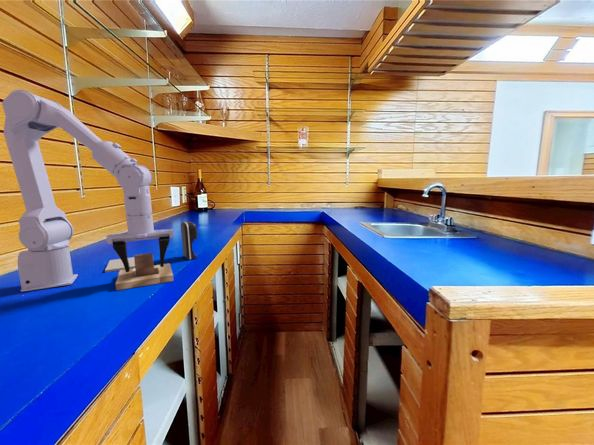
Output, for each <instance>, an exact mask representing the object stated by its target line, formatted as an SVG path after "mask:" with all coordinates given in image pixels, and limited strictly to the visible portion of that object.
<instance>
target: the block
mask: <svg viewBox="0 0 594 445" xmlns="http://www.w3.org/2000/svg"><path fill="white" fill-rule="evenodd" d="M153 255H154V254H153V252H148V253H139V254H134V256H133V257H134V260H135V269H136V277H141V276H148V275H154V274H155V273H154V264H153V262H154V256H153Z"/></svg>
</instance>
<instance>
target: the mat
mask: <svg viewBox="0 0 594 445" xmlns="http://www.w3.org/2000/svg"><path fill="white" fill-rule="evenodd" d="M134 257H135V256H133V257H127V258H128V262H129V269H132V268H135V260H134ZM153 264H154V261H153ZM120 270H125V267H124V265H123V262H122V260H121V259H120V258H117V259H116V258H115V259H110V260H109V261H108V263H107V266H106V267H105V269H104V272H105V273H111V272H118V271H120Z"/></svg>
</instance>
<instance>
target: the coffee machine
mask: <svg viewBox="0 0 594 445" xmlns="http://www.w3.org/2000/svg"><path fill="white" fill-rule="evenodd" d="M180 230H181V231H180V232H181V234H180V235H181V242H182V243H181V244H182V254H183V256H184V258H186V259H187V260H194V259H197V257H198V254H196V253H194V251H193V243H194V241H195V240H198V238H199V236H198V229H197V225H196V224H195V223H194V222H192V221H182V222H181V223H180Z"/></svg>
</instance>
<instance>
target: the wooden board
mask: <svg viewBox="0 0 594 445" xmlns="http://www.w3.org/2000/svg"><path fill="white" fill-rule="evenodd" d="M118 271H119V272H118V274H117V278H116V281H115V291H122V290H127V289H134V288H138V287H139V288H140V287H147V286H150V285H156V284H157V285H158V284H163V283H169V282H174V274H173V273H174V272H173V270H172V267H171V263H164V267H161V266H160V264H156V265H154V273H155V274H154V275H148V276H141V277H136V269H135V268H133V269H130V270H129V272H126V270H118Z"/></svg>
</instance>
